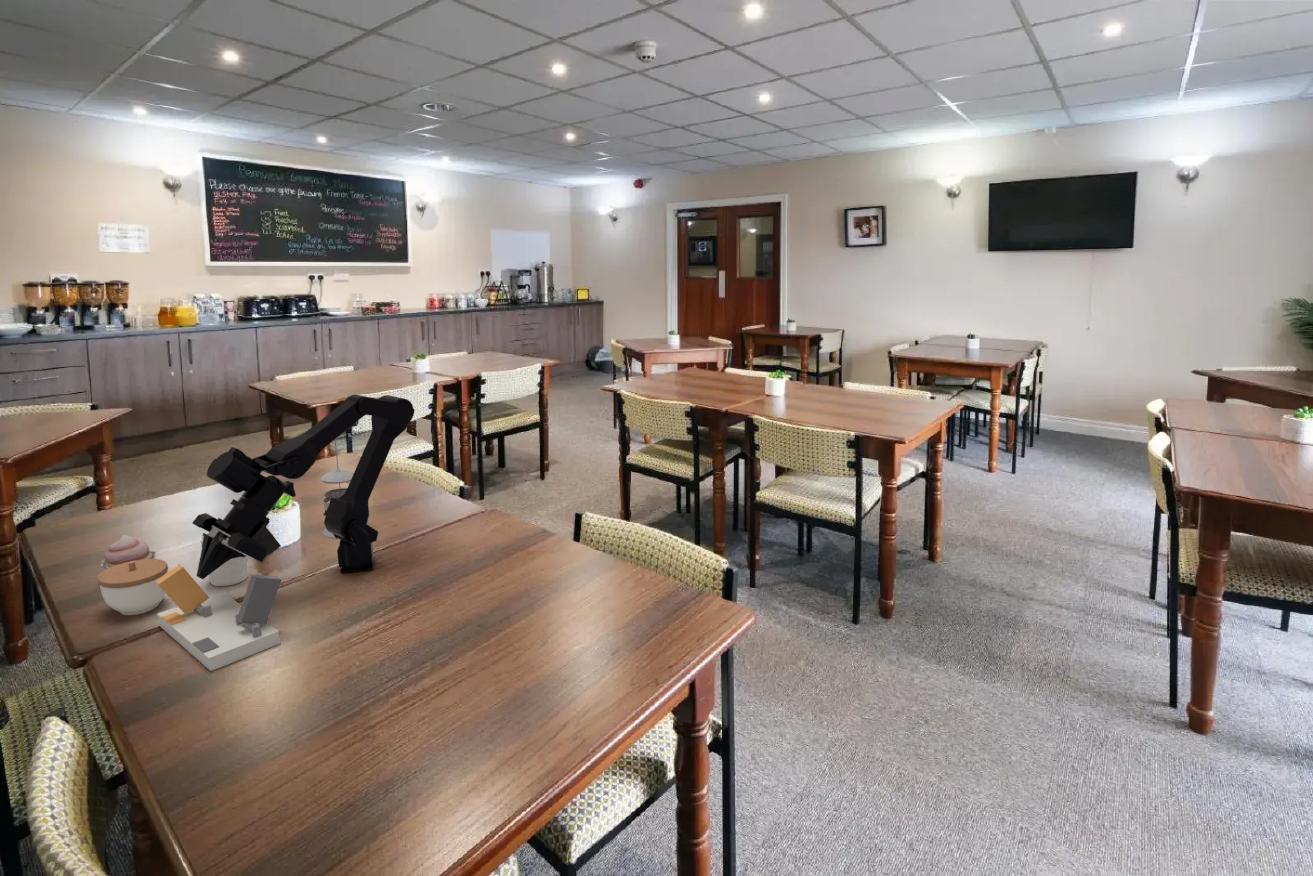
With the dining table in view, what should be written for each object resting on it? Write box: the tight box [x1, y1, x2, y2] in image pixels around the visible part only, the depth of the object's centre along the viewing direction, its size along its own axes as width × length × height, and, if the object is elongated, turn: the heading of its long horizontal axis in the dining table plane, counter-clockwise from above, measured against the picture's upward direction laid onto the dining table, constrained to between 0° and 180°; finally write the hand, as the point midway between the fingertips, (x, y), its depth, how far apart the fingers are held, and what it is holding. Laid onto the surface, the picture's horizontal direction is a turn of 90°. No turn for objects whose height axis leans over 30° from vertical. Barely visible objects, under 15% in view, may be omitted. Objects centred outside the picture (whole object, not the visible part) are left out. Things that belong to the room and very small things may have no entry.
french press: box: [320, 438, 354, 539], centre depth 172 cm, size 10×12×25 cm
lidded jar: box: [97, 558, 169, 616], centre depth 134 cm, size 11×11×9 cm
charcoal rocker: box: [237, 574, 282, 631], centre depth 124 cm, size 4×5×9 cm
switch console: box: [156, 592, 281, 672], centre depth 126 cm, size 11×23×4 cm, turn 52°
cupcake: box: [100, 534, 157, 571], centre depth 145 cm, size 9×9×10 cm
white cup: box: [199, 531, 249, 587], centre depth 146 cm, size 8×8×10 cm
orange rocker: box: [155, 564, 209, 615], centre depth 127 cm, size 4×5×9 cm
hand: (199, 577), depth 129 cm, fingers closed
